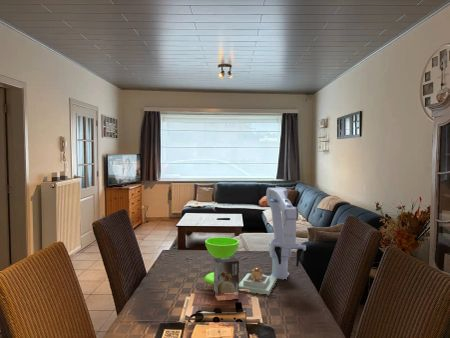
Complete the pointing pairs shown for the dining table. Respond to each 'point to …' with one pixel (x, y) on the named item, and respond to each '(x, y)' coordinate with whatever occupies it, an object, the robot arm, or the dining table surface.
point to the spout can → (256, 275)
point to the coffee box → (226, 275)
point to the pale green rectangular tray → (258, 284)
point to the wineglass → (220, 250)
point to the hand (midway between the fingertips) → (288, 264)
